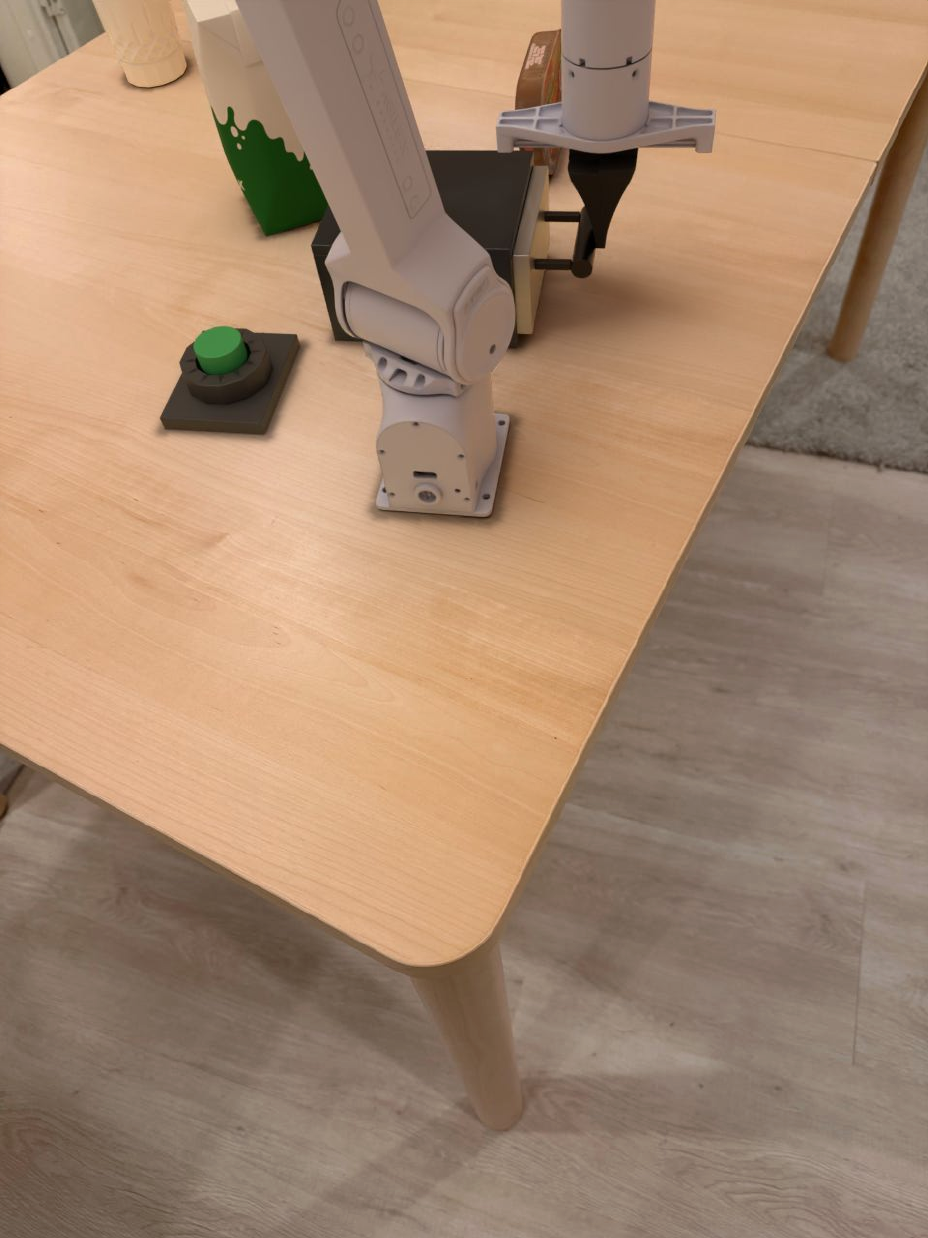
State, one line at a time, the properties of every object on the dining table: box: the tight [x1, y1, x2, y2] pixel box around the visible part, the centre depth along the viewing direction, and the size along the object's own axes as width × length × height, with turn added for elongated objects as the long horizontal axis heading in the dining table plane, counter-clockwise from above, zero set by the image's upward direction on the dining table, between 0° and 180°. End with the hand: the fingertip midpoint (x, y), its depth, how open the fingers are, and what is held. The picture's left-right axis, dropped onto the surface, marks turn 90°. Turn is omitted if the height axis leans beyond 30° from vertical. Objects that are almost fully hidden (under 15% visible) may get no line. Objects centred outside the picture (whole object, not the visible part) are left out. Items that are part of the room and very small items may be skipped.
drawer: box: [512, 166, 597, 335], centre depth 72 cm, size 18×11×7 cm, turn 80°
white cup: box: [91, 0, 188, 88], centre depth 99 cm, size 8×8×10 cm
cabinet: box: [310, 149, 534, 349], centre depth 73 cm, size 15×13×9 cm
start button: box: [193, 325, 248, 375], centre depth 69 cm, size 4×4×2 cm
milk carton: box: [182, 0, 328, 237], centre depth 77 cm, size 9×9×20 cm
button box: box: [159, 327, 301, 436], centre depth 71 cm, size 10×8×3 cm
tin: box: [514, 28, 562, 176], centre depth 84 cm, size 15×3×8 cm, turn 168°
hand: (600, 240), depth 70 cm, fingers closed, pressing on drawer
